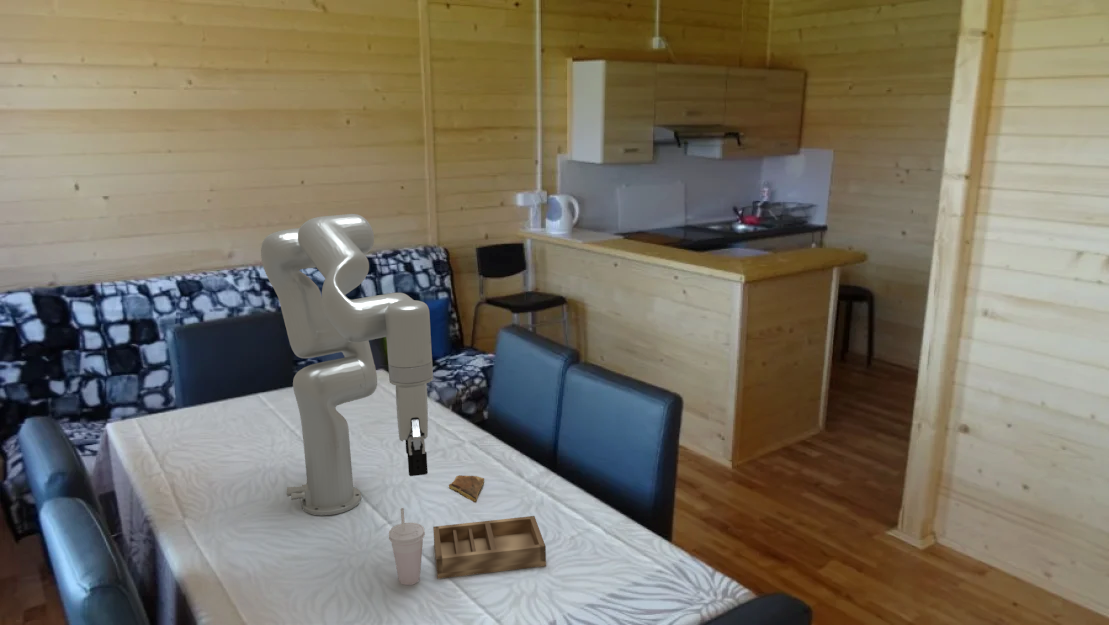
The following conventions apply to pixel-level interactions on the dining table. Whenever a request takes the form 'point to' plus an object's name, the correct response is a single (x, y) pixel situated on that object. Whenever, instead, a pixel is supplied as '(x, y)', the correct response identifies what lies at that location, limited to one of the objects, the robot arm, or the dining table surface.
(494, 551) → the wooden shelf
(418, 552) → the smoothie
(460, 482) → the shard
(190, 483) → the dining table surface
